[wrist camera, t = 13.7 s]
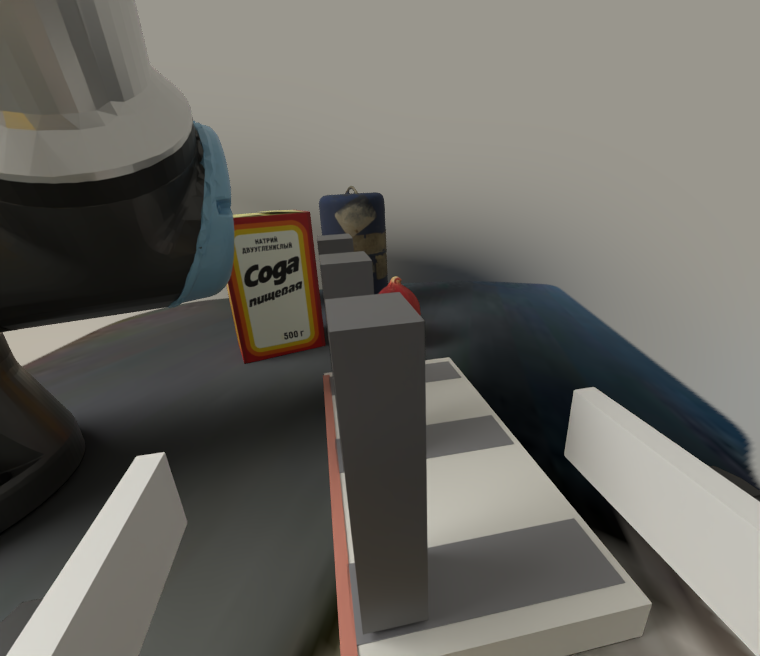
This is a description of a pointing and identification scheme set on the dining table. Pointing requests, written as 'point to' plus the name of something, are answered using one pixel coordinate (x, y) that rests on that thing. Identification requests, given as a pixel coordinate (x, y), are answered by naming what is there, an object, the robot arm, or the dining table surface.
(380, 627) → the block
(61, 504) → the dining table surface
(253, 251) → the baking soda box
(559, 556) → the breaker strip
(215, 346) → the dining table surface
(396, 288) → the pomegranate
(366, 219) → the dark blue cylinder
